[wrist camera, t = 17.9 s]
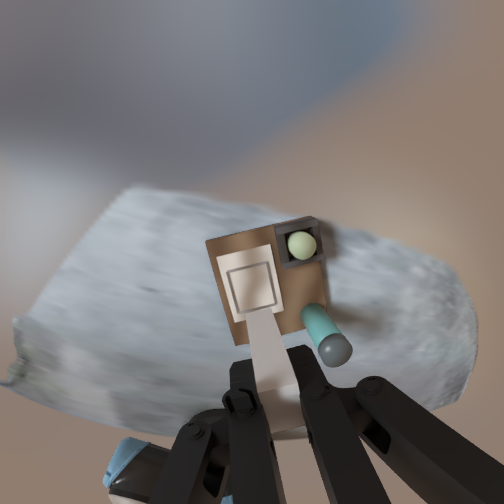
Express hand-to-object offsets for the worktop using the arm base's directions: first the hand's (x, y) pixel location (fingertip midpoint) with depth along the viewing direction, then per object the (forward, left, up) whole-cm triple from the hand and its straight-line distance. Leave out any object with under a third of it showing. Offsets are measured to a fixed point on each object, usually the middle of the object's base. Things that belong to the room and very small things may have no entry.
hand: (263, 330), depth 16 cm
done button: (+8, -2, -24) cm, 26 cm away
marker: (+8, -15, -25) cm, 30 cm away
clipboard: (+3, -8, -26) cm, 28 cm away
